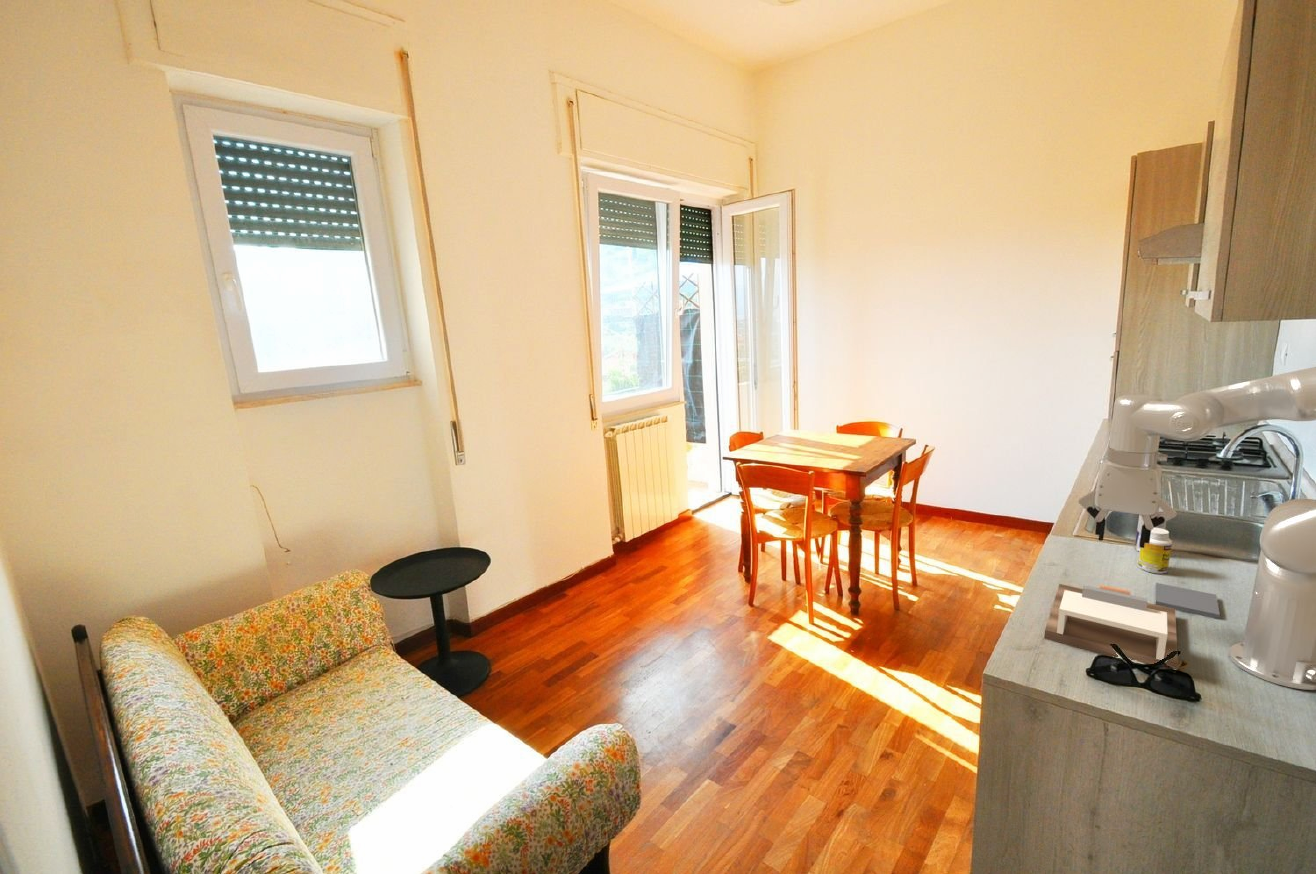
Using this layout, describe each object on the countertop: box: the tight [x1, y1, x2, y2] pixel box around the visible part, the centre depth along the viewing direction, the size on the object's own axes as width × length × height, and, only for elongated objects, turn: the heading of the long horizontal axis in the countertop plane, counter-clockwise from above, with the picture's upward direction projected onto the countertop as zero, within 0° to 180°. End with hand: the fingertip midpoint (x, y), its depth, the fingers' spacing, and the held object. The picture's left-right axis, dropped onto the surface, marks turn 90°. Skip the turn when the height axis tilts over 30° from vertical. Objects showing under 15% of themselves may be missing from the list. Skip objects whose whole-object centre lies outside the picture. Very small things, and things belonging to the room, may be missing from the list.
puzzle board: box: [1043, 583, 1179, 670], centre depth 118 cm, size 23×20×2 cm
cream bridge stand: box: [1057, 584, 1167, 660], centre depth 111 cm, size 9×16×7 cm, turn 50°
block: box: [1099, 584, 1131, 595], centre depth 121 cm, size 5×5×6 cm
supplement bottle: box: [1137, 528, 1173, 574], centre depth 139 cm, size 6×6×10 cm
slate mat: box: [1155, 582, 1221, 620], centre depth 126 cm, size 10×10×1 cm
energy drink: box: [1134, 507, 1167, 553], centre depth 148 cm, size 5×5×12 cm
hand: (1121, 541), depth 118 cm, fingers open, 6 cm apart
